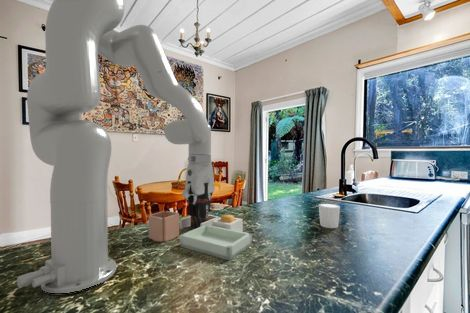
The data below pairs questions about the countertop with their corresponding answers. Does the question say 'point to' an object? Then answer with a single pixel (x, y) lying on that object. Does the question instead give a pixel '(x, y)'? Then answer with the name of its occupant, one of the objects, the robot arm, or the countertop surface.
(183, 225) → the white recessed tray
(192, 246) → the trough
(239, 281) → the countertop surface
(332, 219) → the white tapered cylinder
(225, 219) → the button
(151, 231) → the cup
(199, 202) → the deodorant
